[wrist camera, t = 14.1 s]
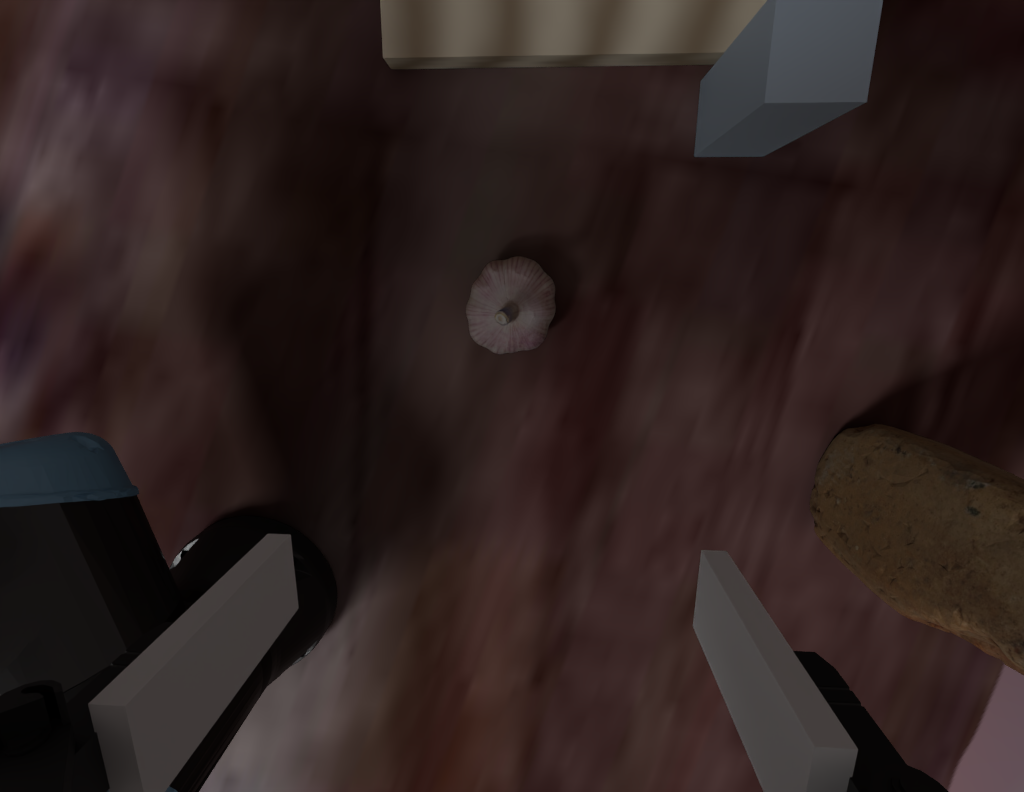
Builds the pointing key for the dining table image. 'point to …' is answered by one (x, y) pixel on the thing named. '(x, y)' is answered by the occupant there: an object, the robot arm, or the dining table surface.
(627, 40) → the board
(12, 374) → the dining table surface
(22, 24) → the dining table surface
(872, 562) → the stone
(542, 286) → the garlic bulb
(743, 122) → the hammer
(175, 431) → the dining table surface
